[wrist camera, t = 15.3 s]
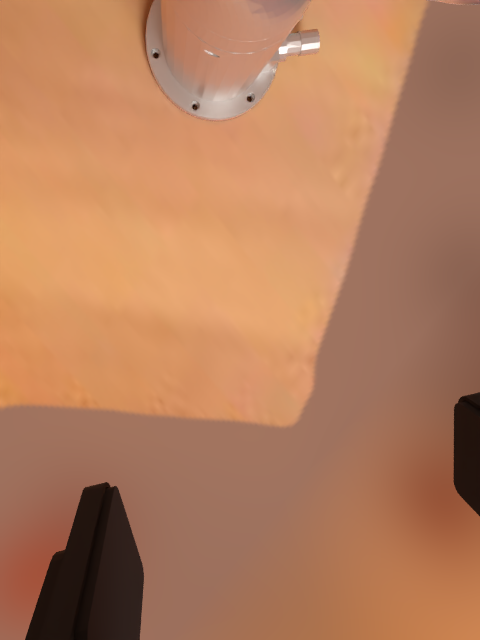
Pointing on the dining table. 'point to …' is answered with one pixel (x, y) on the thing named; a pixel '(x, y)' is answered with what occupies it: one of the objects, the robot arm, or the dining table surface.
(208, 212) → the dining table surface
